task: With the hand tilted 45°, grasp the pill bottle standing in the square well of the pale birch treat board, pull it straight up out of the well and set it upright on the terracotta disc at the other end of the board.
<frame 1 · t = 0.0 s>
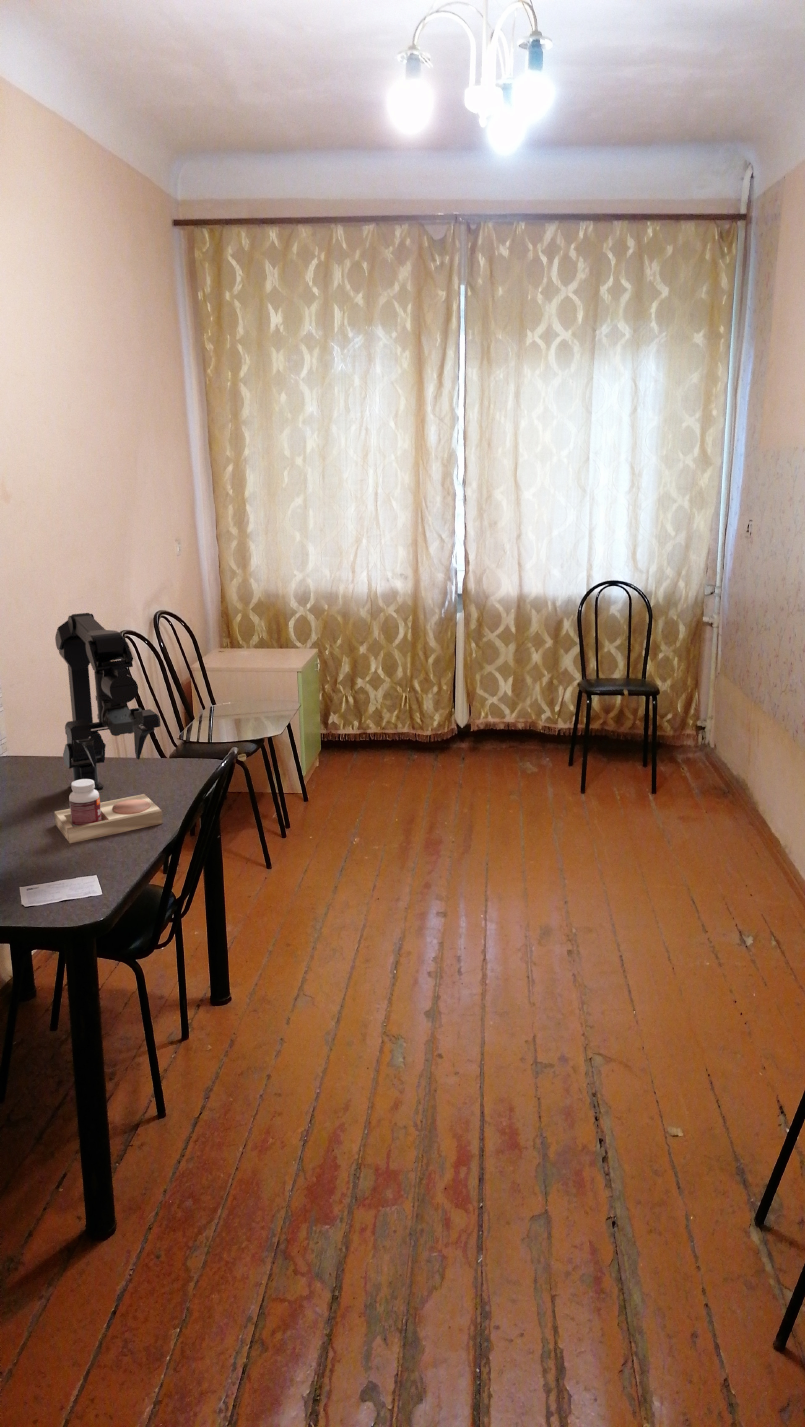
hand: (116, 762, 205), 15 cm above the table, tool pointing down, fingers open, 9 cm apart
treat board: (109, 823, 210), on the table
pill bottle: (87, 831, 207), resting in treat board
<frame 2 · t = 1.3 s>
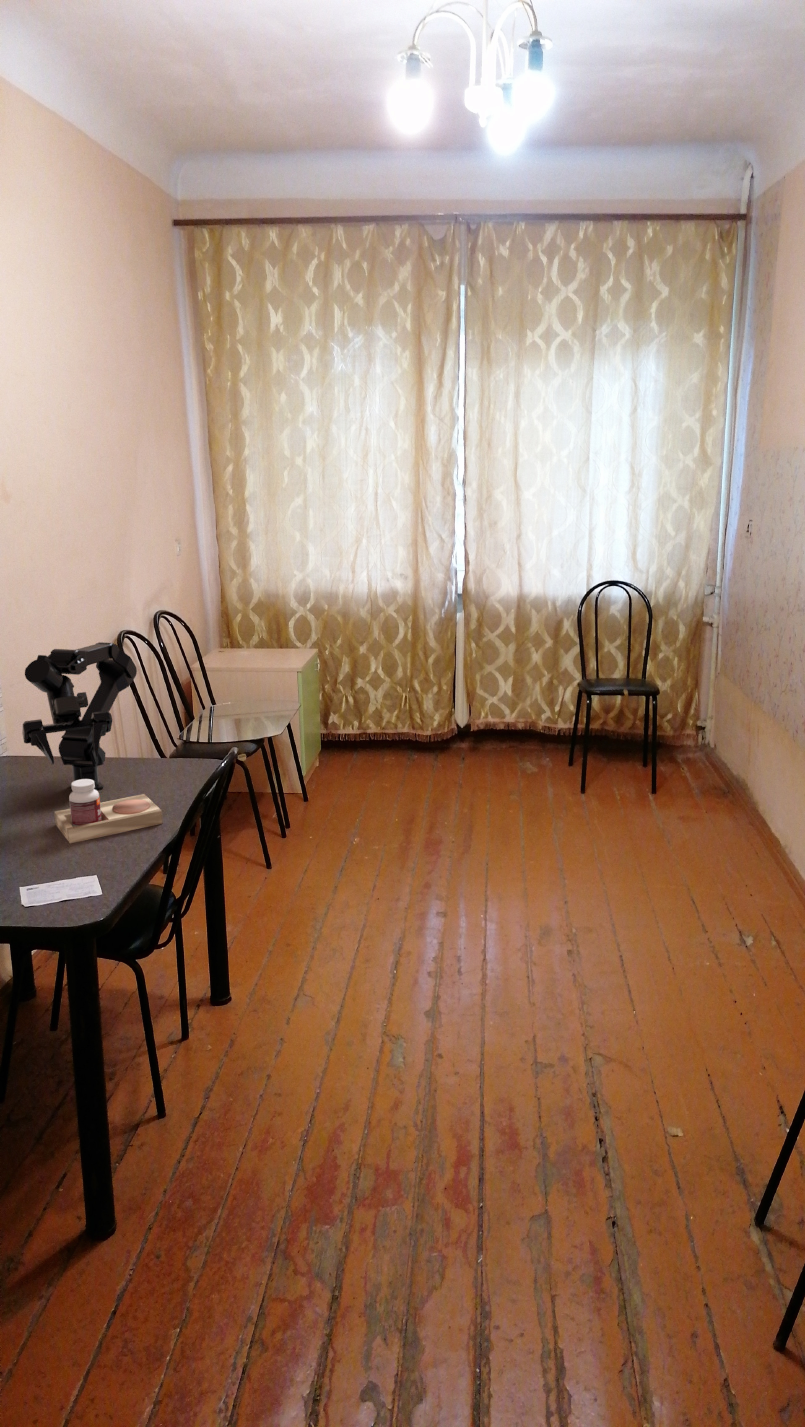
hand: (75, 760, 210), 14 cm above the table, tool tilted 45°, fingers open, 9 cm apart
nothing on the table moved.
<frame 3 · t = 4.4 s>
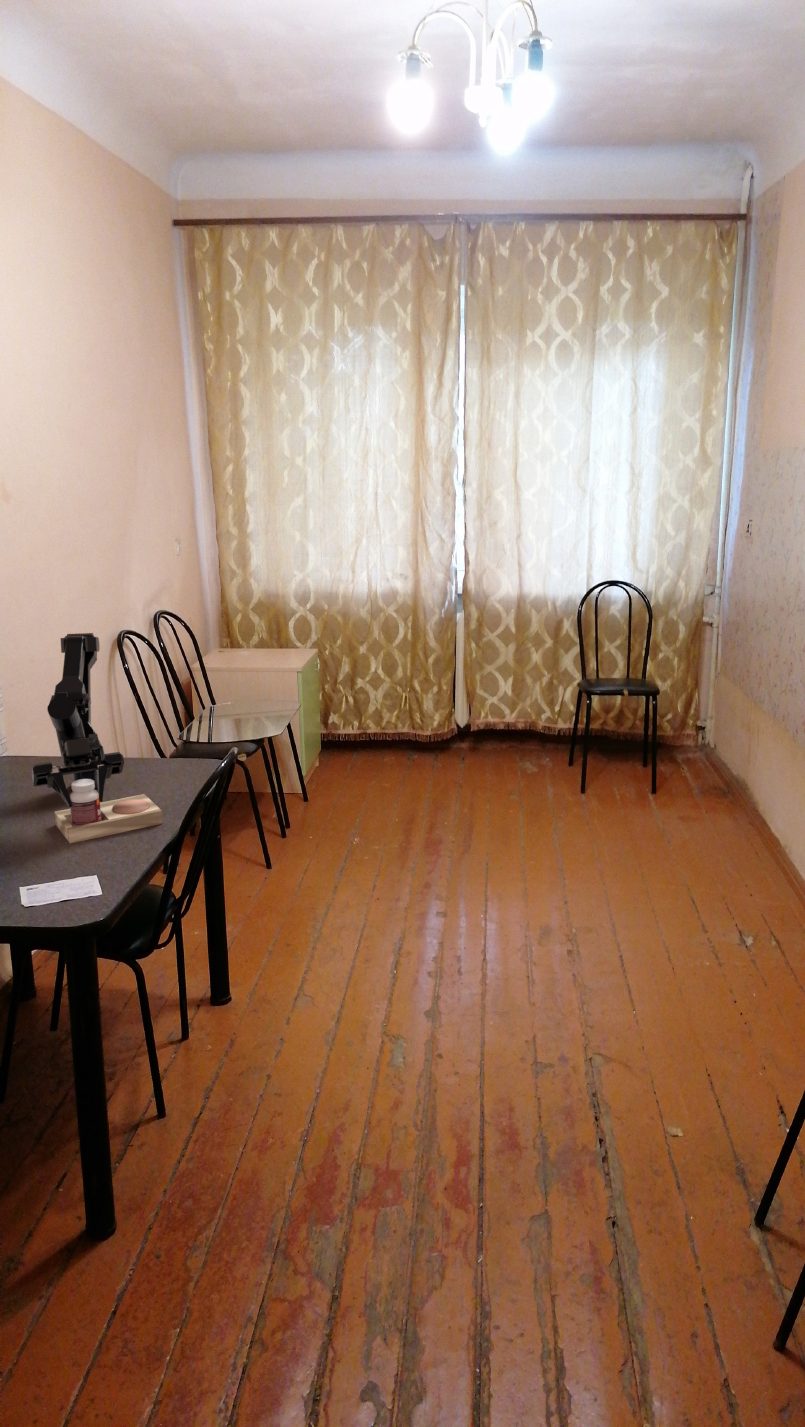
hand: (85, 803, 204), 7 cm above the table, tool tilted 45°, fingers closed on pill bottle, 6 cm apart
pill bottle: (87, 831, 207), resting in treat board, touching gripper
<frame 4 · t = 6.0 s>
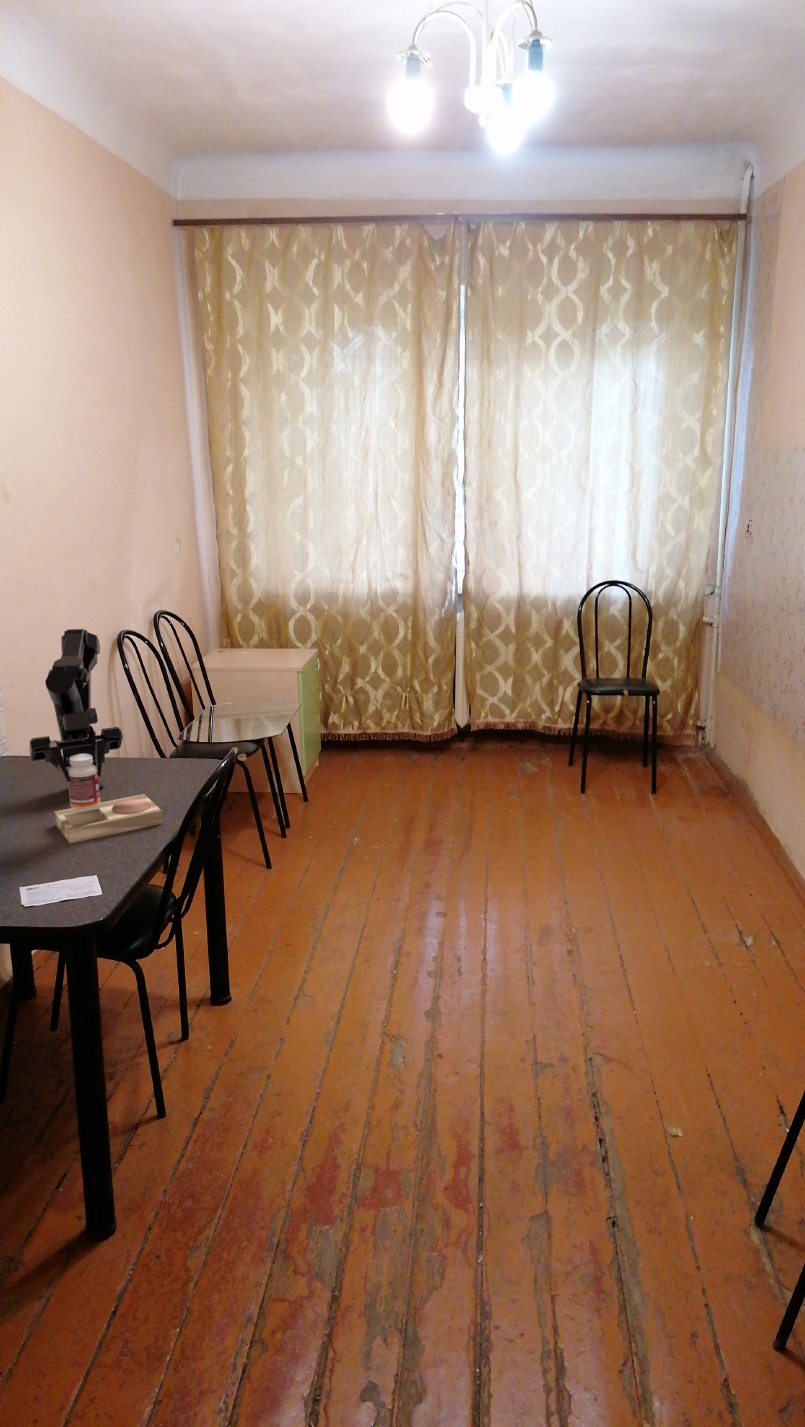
hand: (84, 778, 202), 12 cm above the table, tool tilted 45°, fingers closed on pill bottle, 6 cm apart
pill bottle: (85, 806, 205), point 5 cm above the table, touching gripper
when the fingers open (11 cm above the table, at t = 7.6 s): pill bottle stays where it is, resting on treat board.
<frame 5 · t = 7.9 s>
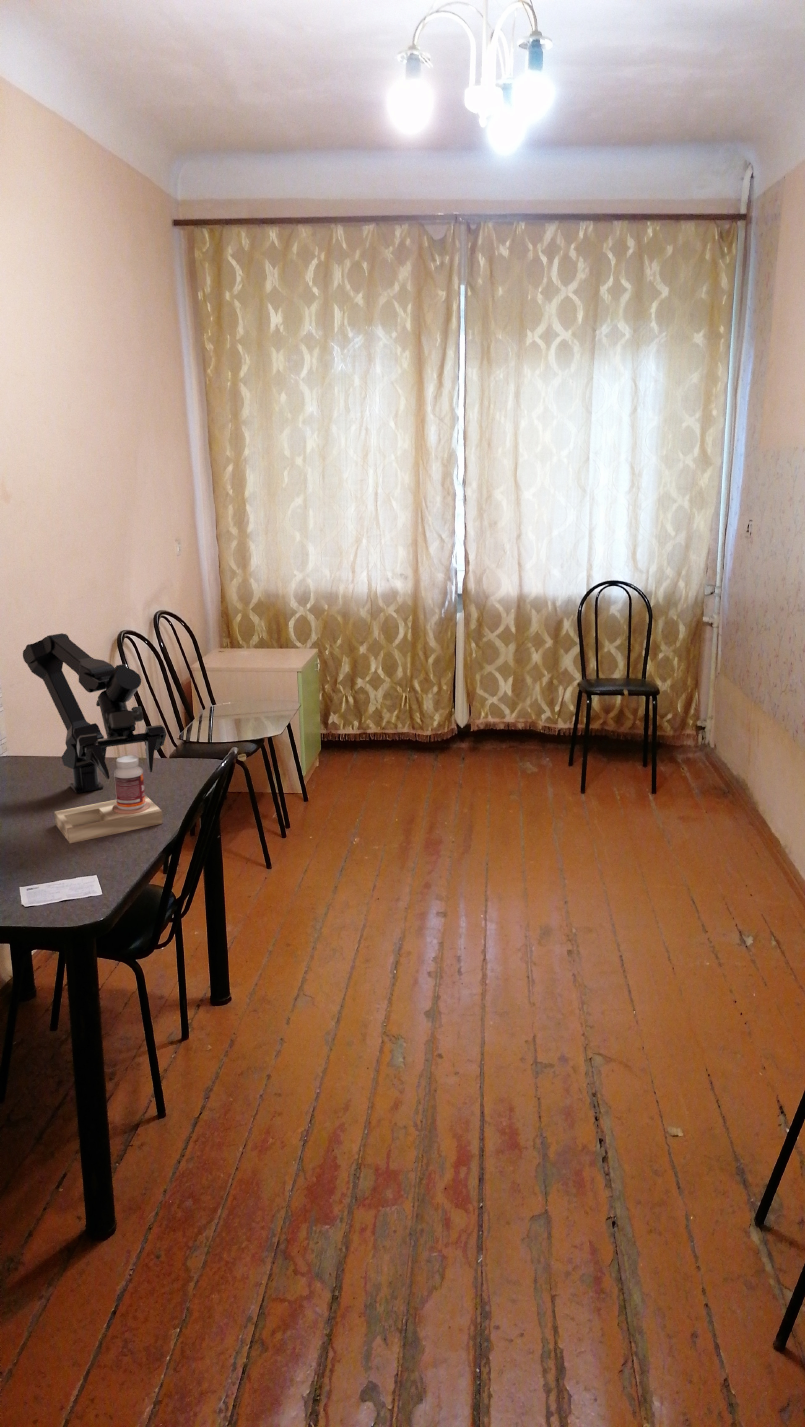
hand: (130, 775, 208), 11 cm above the table, tool tilted 45°, fingers open, 9 cm apart
pill bottle: (131, 806, 212), point 3 cm above the table, touching treat board
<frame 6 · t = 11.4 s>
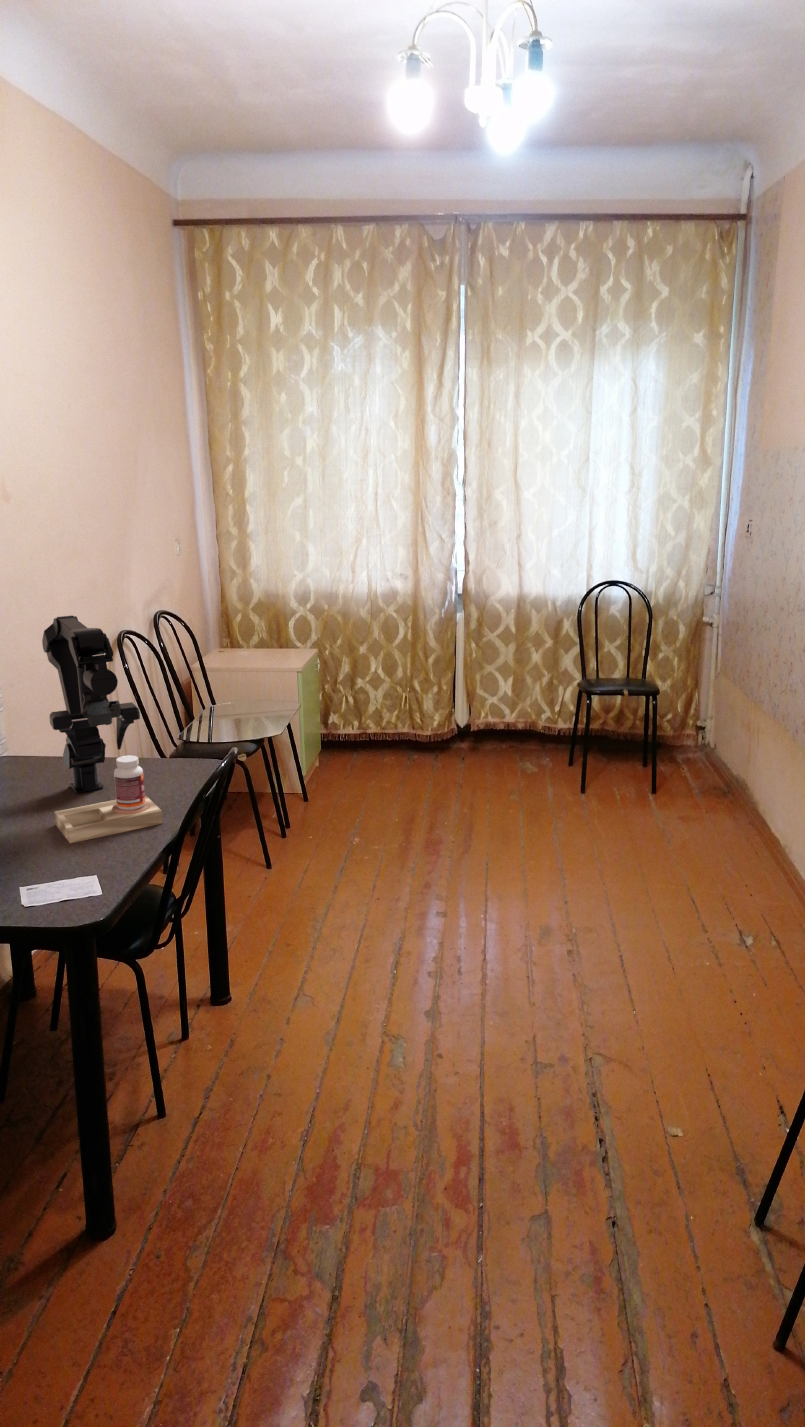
hand: (98, 752, 217), 13 cm above the table, tool pointing down, fingers open, 9 cm apart
nothing on the table moved.
at the end: pill bottle inside the target area on the treat board (0.3 cm from its centre), point 3.1 cm above the treat board's base; pill bottle tilted 0°; the gripper is holding nothing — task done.
